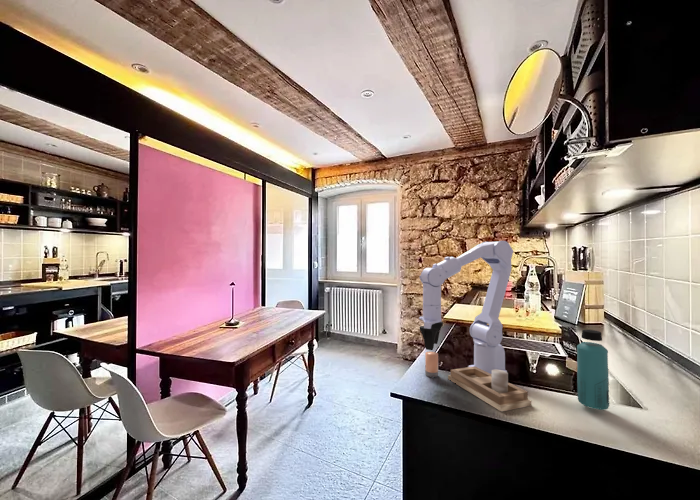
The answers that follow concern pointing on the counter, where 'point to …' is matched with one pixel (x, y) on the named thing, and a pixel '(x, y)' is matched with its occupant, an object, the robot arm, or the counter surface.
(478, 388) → the socket holder
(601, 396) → the beverage bottle
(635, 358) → the counter surface
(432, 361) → the peach rounded capsule
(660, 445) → the counter surface
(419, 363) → the counter surface
